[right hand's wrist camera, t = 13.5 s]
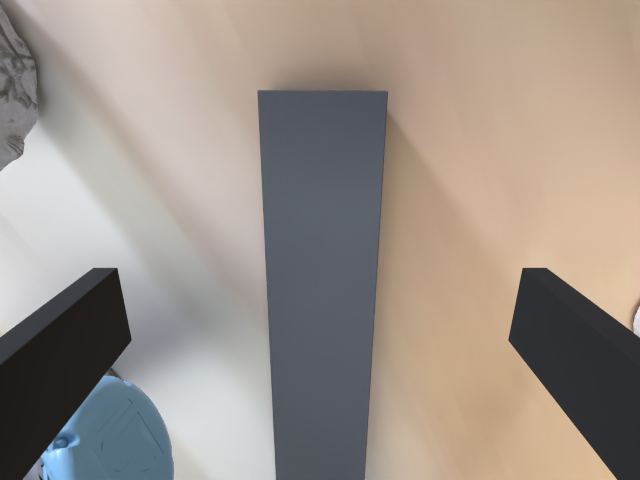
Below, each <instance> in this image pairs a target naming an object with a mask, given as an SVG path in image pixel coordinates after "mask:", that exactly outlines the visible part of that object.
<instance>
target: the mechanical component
mask: <svg viewBox="0 0 640 480" xmlns="http://www.w3.org/2000/svg"><path fill="white" fill-rule="evenodd" d="M633 329H634V334H636V335H637V336H638V337H640V307H639V309H638V311H637V313H636V315H635V319H634V323H633Z"/></svg>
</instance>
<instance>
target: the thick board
mask: <svg viewBox="0 0 640 480" xmlns="http://www.w3.org/2000/svg"><path fill="white" fill-rule="evenodd" d="M387 97H388V91H283V90H258V109H259V130H260V151H261V172H262V193H263V214H264V235H265V256H266V277H267V298H268V319H269V340H270V360H271V381H272V402H273V423H274V444H275V465H276V480H364V478H365V461H366V445H367V428H368V412H369V395H370V379H371V362H372V346H373V329H374V312H375V296H376V279H377V263H378V246H379V230H380V213H381V197H382V180H383V164H384V147H385V130H386V114H387Z"/></svg>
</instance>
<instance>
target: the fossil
mask: <svg viewBox="0 0 640 480" xmlns="http://www.w3.org/2000/svg"><path fill="white" fill-rule="evenodd" d="M36 88H37V74H36V66H35V62H34V58H33V57H32V56H31V54H30V52H29V50H28V49H27V46H26V44H25V42H24V40H22V39H21V38H19V36H18V35H17V34H16V32H15V30H14V28H13V27H12V25H11V23H10V20H9V18H8V16H7V15H6V13H5V12H4V11H3V9H2V6H1V3H0V171H1V170H2V169H3V168H4V167H5V166H7V165H8V164H9V163H10V162H12V161H13V160H16V159H18V158H19V157H20V156H21V155H22V154H23V150H24V139H25V137H26V135H27V134H28V133H29V132H30V131H31V129H32V128H33V126H34V125H35V124H36V121H37V119H38V118H39V112H38V107H39V102H38V100H37V95H36Z"/></svg>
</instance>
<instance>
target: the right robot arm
mask: <svg viewBox="0 0 640 480" xmlns="http://www.w3.org/2000/svg"><path fill="white" fill-rule="evenodd" d="M130 342H131V335H130V330H129V325H128V320H127V315H126V310H125V305H124V299H123V294H122V289H121V284H120V279H119V274H118V269H117V268H93V269H92V270H90V271H89V272H88V273H86V274H85V275H83V276H82V277H81V278H79V279H78V280H77V281H75V282H74V283H73V284H71V285H70V286H69V287H67V288H66V289H65V290H63V291H62V292H61V293H59V294H58V295H57V296H55V297H54V298H53V299H51V300H50V301H49V302H47V303H46V304H45V305H43V306H42V307H41V308H39V309H38V310H37V311H35V312H34V313H32V314H31V315H30V316H28V317H27V318H26V319H24V320H23V321H22V322H20V323H19V324H18V325H16V326H15V327H14V328H12V329H11V330H10V331H8V332H7V333H6V334H4V335H3V336H2V337H0V480H23V479H24V477H25V476H26V475H27V473H28V472H29V471H30V470H31V468H32V467H33V466H34V465H35V463H36V462H37V461H38V459H39V458H40V457H41V456H42V454H43V453H44V452H45V450H46V449H47V448H48V447H49V445H50V444H51V443H52V441H53V440H54V439H55V438H56V436H57V435H58V434H59V433H60V431H61V430H62V429H63V427H64V426H65V425H66V424H67V422H68V421H69V420H70V418H71V417H72V416H73V415H74V413H75V412H76V411H77V410H78V408H79V407H80V406H81V404H82V403H83V402H84V401H85V399H86V398H87V397H88V395H89V394H90V393H91V392H92V390H93V389H94V388H95V386H96V385H97V384H98V383H99V381H100V380H101V379H102V378H103V376H104V375H105V374H106V372H107V371H108V370H109V369H110V367H111V366H112V365H113V363H114V362H115V361H116V360H117V358H118V357H119V356H120V355H121V353H122V352H123V351H124V349H125V348H126V347H127V346H128V344H129V343H130ZM509 342H510V343H511V344H512V346H513V347H514V348H515V349H516V351H517V352H518V353H519V355H520V356H521V357H522V358H523V360H524V361H525V362H526V363H527V365H528V366H529V367H530V369H531V370H532V371H533V372H534V374H535V375H536V376H537V378H538V379H539V380H540V381H541V383H542V384H543V385H544V386H545V388H546V389H547V390H548V392H549V393H550V394H551V395H552V397H553V398H554V399H555V401H556V402H557V403H558V404H559V406H560V407H561V408H562V410H563V411H564V412H565V413H566V415H567V416H568V417H569V418H570V420H571V421H572V422H573V424H574V425H575V426H576V427H577V429H578V430H579V431H580V433H581V434H582V435H583V436H584V438H585V439H586V440H587V441H588V443H589V444H590V445H591V447H592V448H593V449H594V450H595V452H596V453H597V454H598V456H599V457H600V458H601V459H602V461H603V462H604V463H605V465H606V466H607V467H608V468H609V470H610V471H611V472H612V473H613V475H614V476H615V477H616V479H617V480H640V337H638V336H637V335H636V334H634V333H633V332H632V331H630V330H629V329H628V328H626V327H625V326H624V325H622V324H621V323H620V322H618V321H617V320H616V319H614V318H613V317H612V316H610V315H609V314H608V313H606V312H605V311H603V310H602V309H601V308H599V307H598V306H597V305H595V304H594V303H593V302H591V301H590V300H589V299H587V298H586V297H585V296H583V295H582V294H581V293H579V292H578V291H577V290H575V289H574V288H573V287H571V286H570V285H569V284H567V283H566V282H565V281H563V280H562V279H561V278H559V277H558V276H557V275H555V274H554V273H552V272H551V271H550V270H548V269H547V268H523V269H522V274H521V279H520V284H519V289H518V294H517V299H516V305H515V310H514V315H513V320H512V325H511V330H510V335H509Z"/></svg>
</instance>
